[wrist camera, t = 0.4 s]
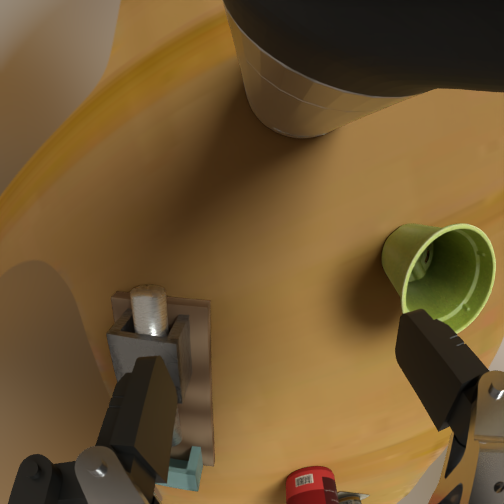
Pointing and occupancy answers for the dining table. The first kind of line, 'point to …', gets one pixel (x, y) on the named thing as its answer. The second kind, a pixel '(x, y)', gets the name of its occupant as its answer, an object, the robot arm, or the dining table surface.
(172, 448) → the board
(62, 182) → the dining table surface
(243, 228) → the dining table surface
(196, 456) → the socket block
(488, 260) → the plant pot
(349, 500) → the condiment
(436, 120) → the dining table surface
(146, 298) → the slide bolt
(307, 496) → the canned food
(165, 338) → the sleeve
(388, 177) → the dining table surface
